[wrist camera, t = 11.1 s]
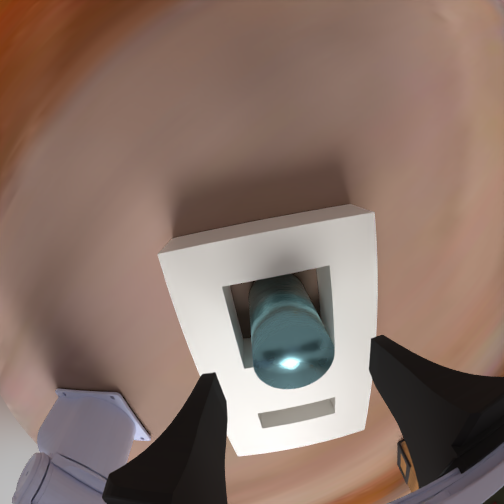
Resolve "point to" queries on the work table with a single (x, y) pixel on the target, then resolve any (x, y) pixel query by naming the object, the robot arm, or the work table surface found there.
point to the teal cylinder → (287, 334)
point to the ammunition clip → (407, 466)
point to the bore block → (240, 350)
